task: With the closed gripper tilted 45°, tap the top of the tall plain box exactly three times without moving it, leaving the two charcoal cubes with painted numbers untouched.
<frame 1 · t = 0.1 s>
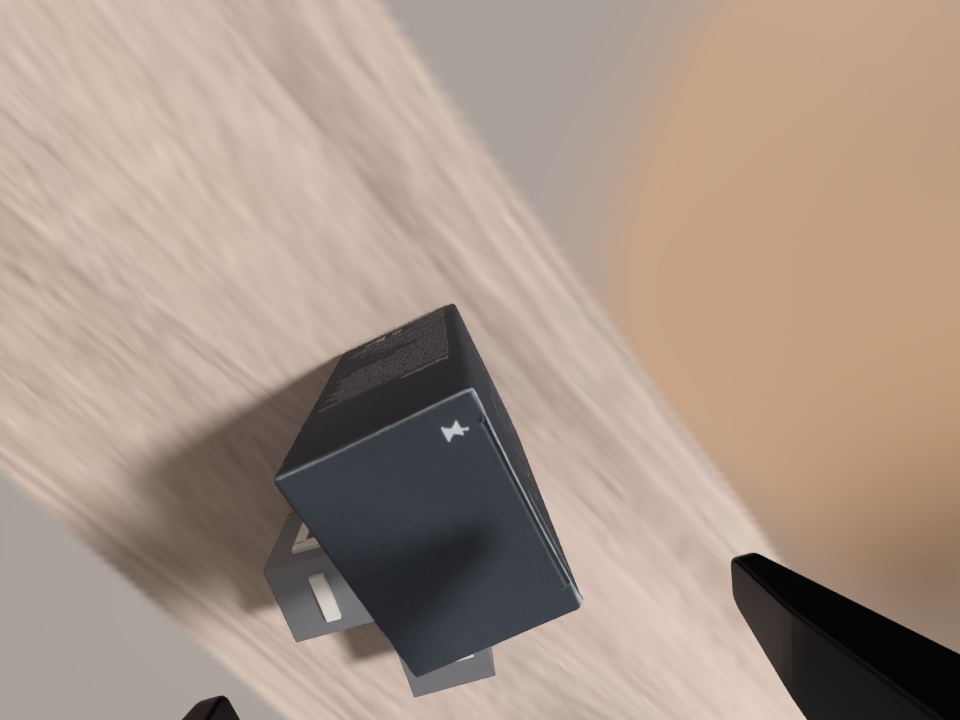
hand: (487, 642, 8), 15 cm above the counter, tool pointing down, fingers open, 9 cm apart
marked cube one: (442, 591, 26), on the counter
box: (435, 397, 23), on the counter
marked cube seven: (341, 535, 24), on the counter
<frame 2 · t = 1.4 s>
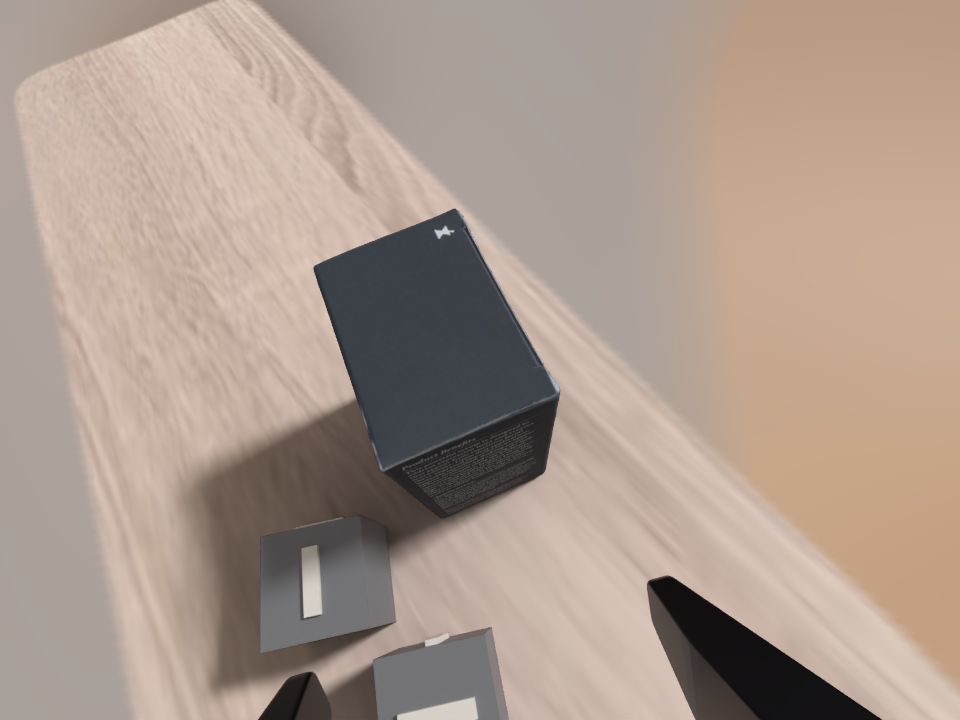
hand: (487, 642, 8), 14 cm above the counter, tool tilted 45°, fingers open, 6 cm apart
marked cube one: (453, 693, 19), on the counter
box: (464, 426, 24), on the counter
marked cube seven: (347, 581, 22), on the counter
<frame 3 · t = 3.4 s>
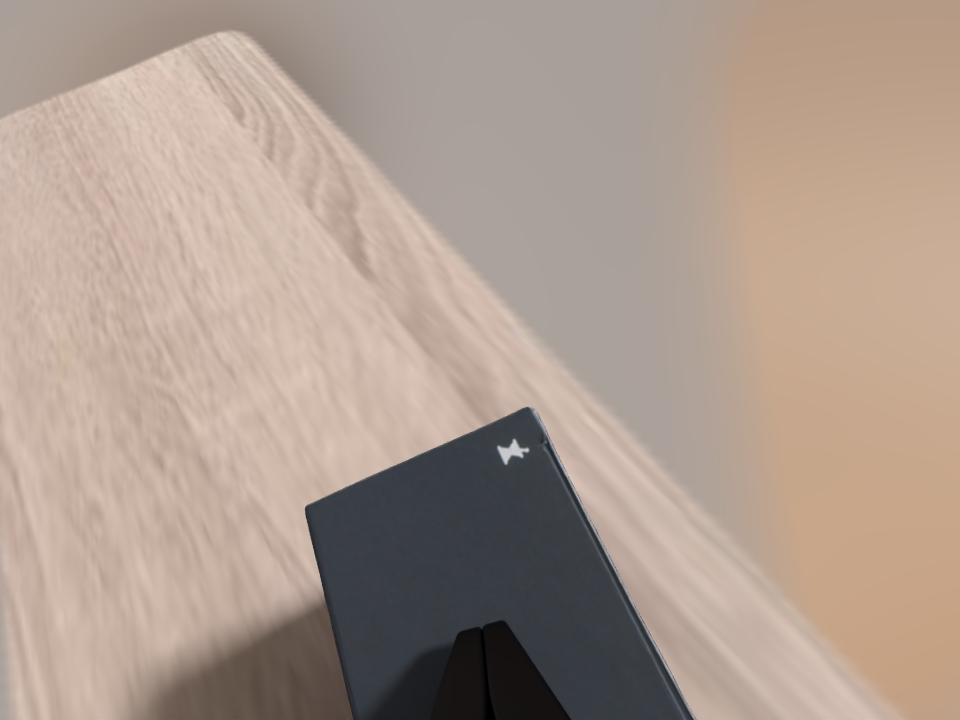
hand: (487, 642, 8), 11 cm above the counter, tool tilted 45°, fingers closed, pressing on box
box: (513, 625, 18), on the counter, touching gripper
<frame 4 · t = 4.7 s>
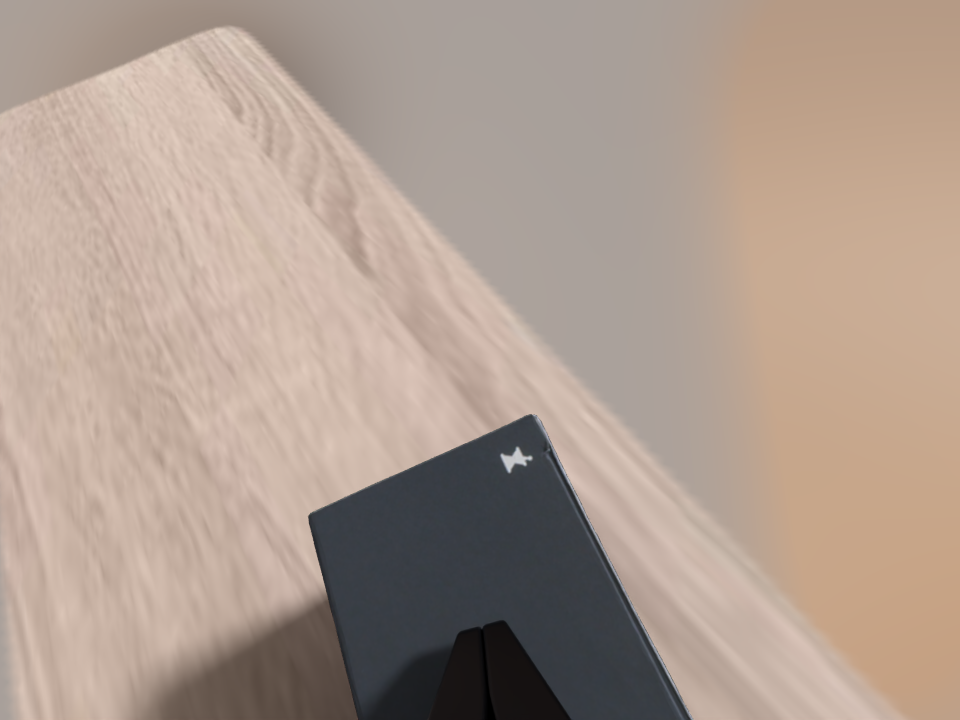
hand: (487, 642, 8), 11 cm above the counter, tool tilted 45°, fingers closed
box: (511, 620, 18), on the counter
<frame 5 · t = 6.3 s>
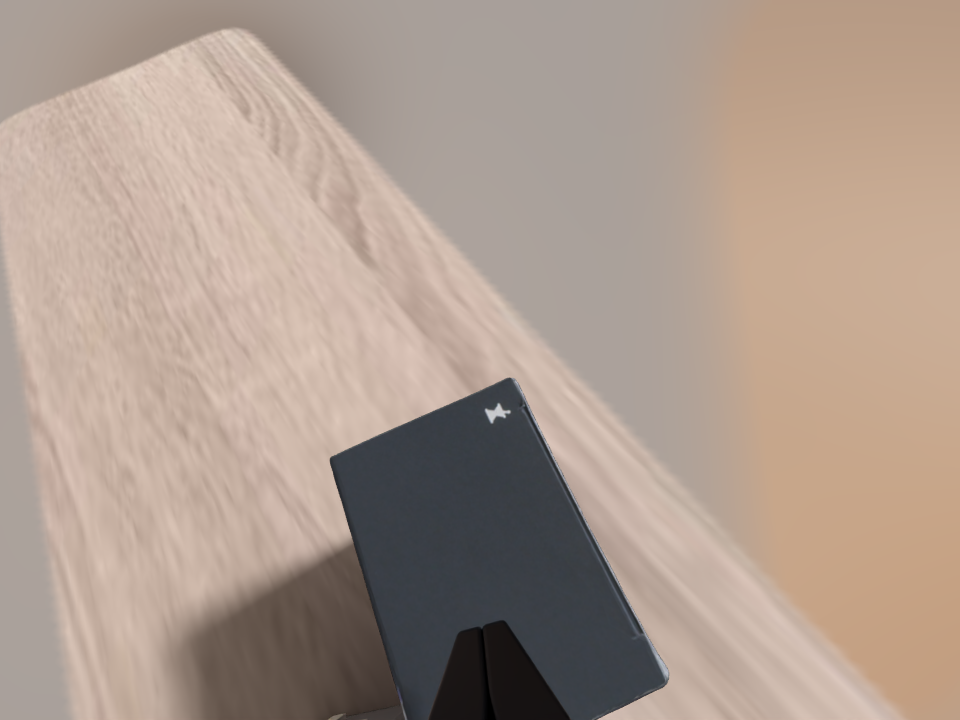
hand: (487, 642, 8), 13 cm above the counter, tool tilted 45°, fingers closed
box: (500, 569, 21), on the counter
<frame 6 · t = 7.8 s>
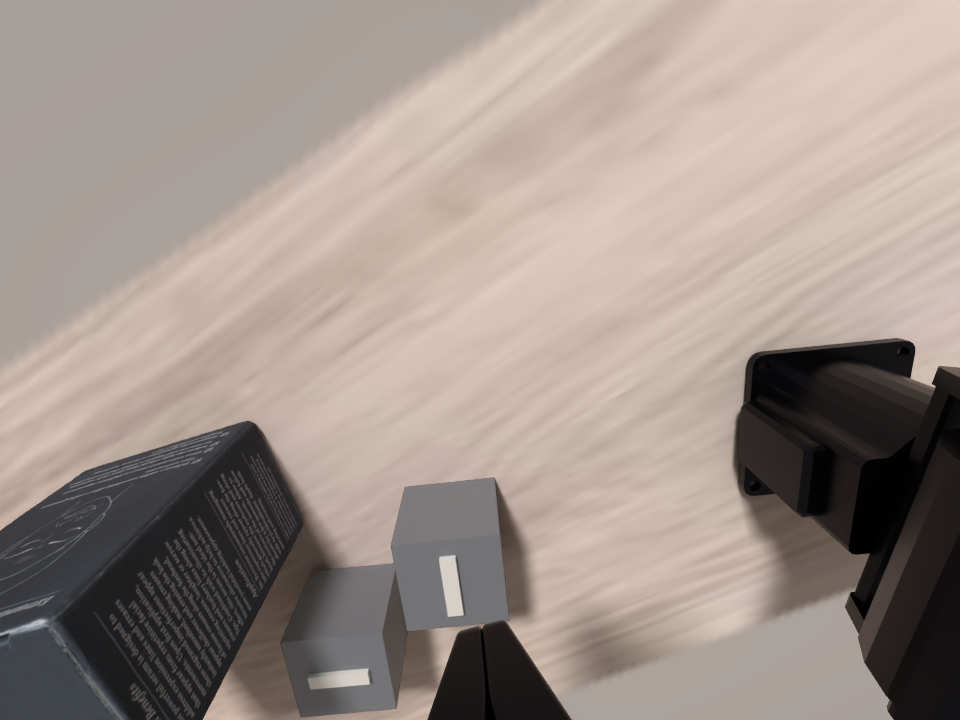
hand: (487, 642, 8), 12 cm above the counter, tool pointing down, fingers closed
marked cube one: (455, 519, 22), on the counter
box: (203, 493, 21), on the counter
marked cube seven: (361, 599, 23), on the counter
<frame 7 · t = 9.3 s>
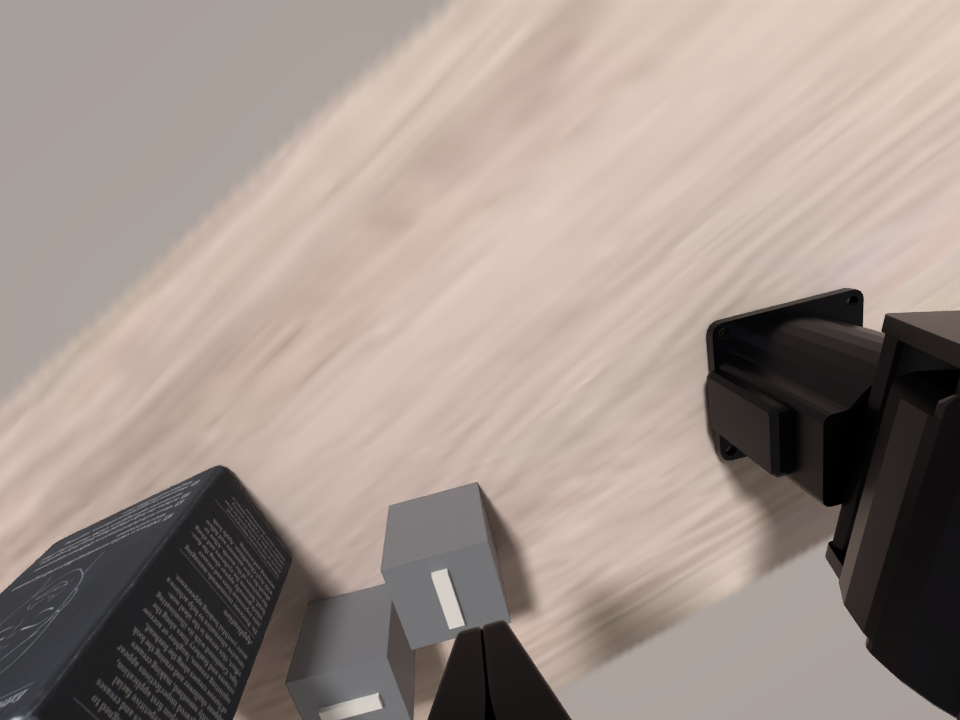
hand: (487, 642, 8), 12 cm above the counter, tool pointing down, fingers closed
marked cube one: (444, 529, 22), on the counter
box: (184, 545, 21), on the counter
marked cube seven: (363, 623, 23), on the counter
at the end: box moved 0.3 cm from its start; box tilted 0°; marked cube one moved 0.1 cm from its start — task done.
